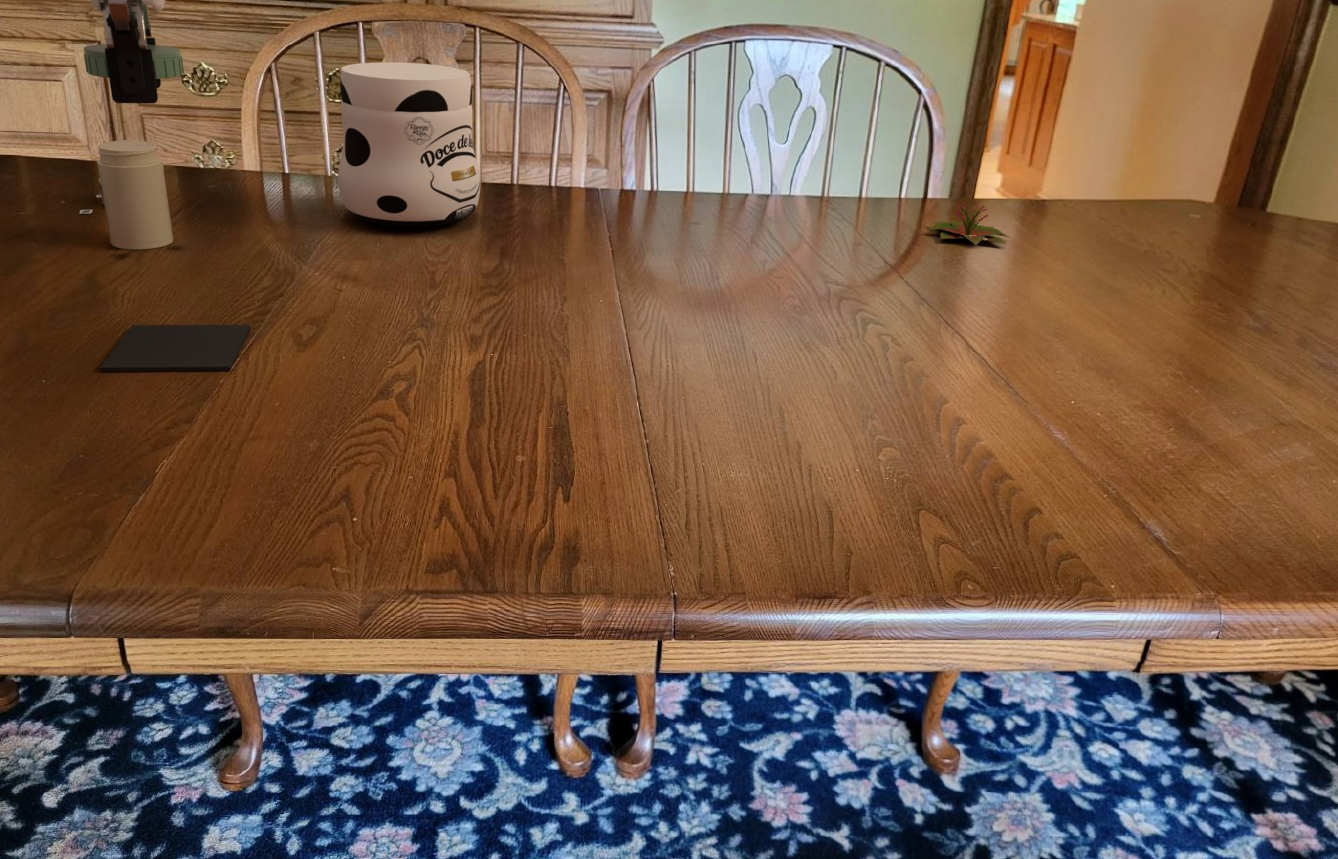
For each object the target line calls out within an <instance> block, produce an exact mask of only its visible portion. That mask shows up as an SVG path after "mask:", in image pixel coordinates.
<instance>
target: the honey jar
mask: <svg viewBox="0 0 1338 859" xmlns="http://www.w3.org/2000/svg"><path fill="white" fill-rule="evenodd" d="M158 149H159V147H158V146H157V144H156V143H154V142H151V141H144V140H126V141H118V140H113V141H108V142H104V143H100V144H98V152H97V153H98V155H99V157H100V158H99V159H97V161H96V165H97V170H98V171H97V172H98V177H99V178H100V183H101V189H102V195H103V201H104V204H103V206H104V213H105V218H106V224H107V231H108V236H109V243H110V245H111V246H112V247H115V248H118V249H123V250H134V251H135V250H139V251H140V250H152V249H158V248H162V247H166V246H168V245H170V244H172V243H173V242H174V232H173V226H172V224H173V223H172V217H171V211H170V203H169V197H168V196H169V195H168V190H167V189H168V188H167V182H166V175H165V167H164V162H163V161H164V160H163V159H162V158H161V157H159V154H158Z"/></svg>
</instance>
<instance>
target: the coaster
mask: <svg viewBox="0 0 1338 859" xmlns="http://www.w3.org/2000/svg"><path fill="white" fill-rule="evenodd" d="M250 330H251V324H132V325H131V326H130V327H129V329H127V331H126V332H125V334H124V336H123V337H122V338H121V339H120V340H119V341H118V343H117V344H116V345H115V347H114V348H113V350H112V351H111V352H110V353H109V354H108V356H106V359H104V361H103V362H102V363H101V365H100V366H99V373H124V372H125V373H126V372H129V373H133V372H137V373H138V372H139V373H141V372H230V371H231V370H232V368H233V365H234V363H235V361H236V359H237V357H238V355H239V354H240V351H241V349H242V347H243V345H244V343H245V341H246V339H247V337H248V335H249V333H250Z"/></svg>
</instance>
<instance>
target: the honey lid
mask: <svg viewBox="0 0 1338 859" xmlns="http://www.w3.org/2000/svg"><path fill="white" fill-rule="evenodd" d="M105 48H107V45H106V43H102V44H101V43H100V44H92V45H91V44H90V45H86V46H84V47H83V58H84V65H85V71H86V73H87V74H88V75H90V76H93V77H99V78H104V79H105V78H106V79H109V74H108V67H107V61H106V54H105ZM147 49H151V50H152V58H153V65H154V72H155V79H160V80H163V79H173V78H179V77H182V76H183V74H185V69H184V62H183V57H182V54H181V49H180V48H178V47H174V46H167V45H158V44H156V45H147Z"/></svg>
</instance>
